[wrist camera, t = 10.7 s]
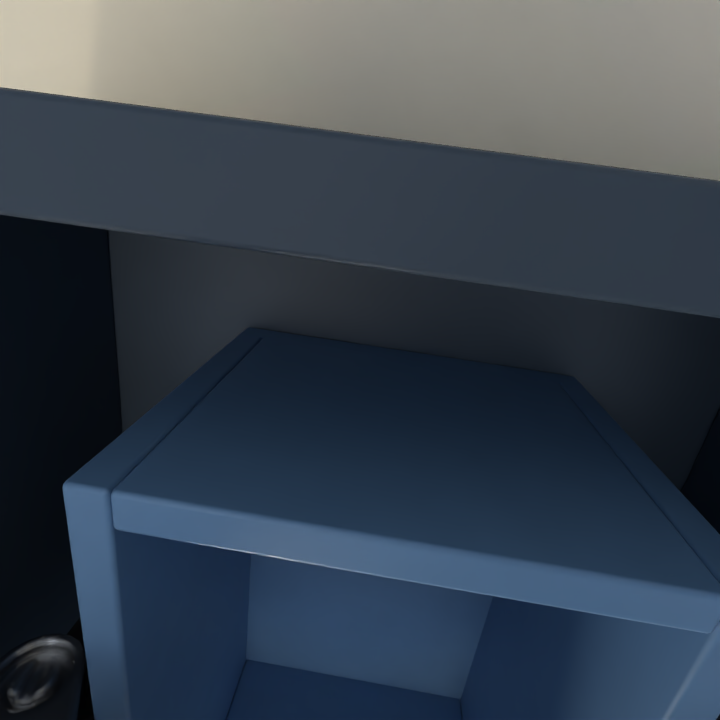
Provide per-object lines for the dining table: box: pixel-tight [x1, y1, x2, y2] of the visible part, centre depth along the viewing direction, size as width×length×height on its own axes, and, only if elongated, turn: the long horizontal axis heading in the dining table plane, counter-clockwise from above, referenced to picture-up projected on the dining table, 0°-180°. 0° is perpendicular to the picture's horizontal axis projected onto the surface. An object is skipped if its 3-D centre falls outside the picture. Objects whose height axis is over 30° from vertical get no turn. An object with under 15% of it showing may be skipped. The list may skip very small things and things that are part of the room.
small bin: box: [62, 328, 720, 720], centre depth 9 cm, size 10×7×6 cm
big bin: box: [0, 87, 720, 720], centre depth 9 cm, size 17×15×7 cm
